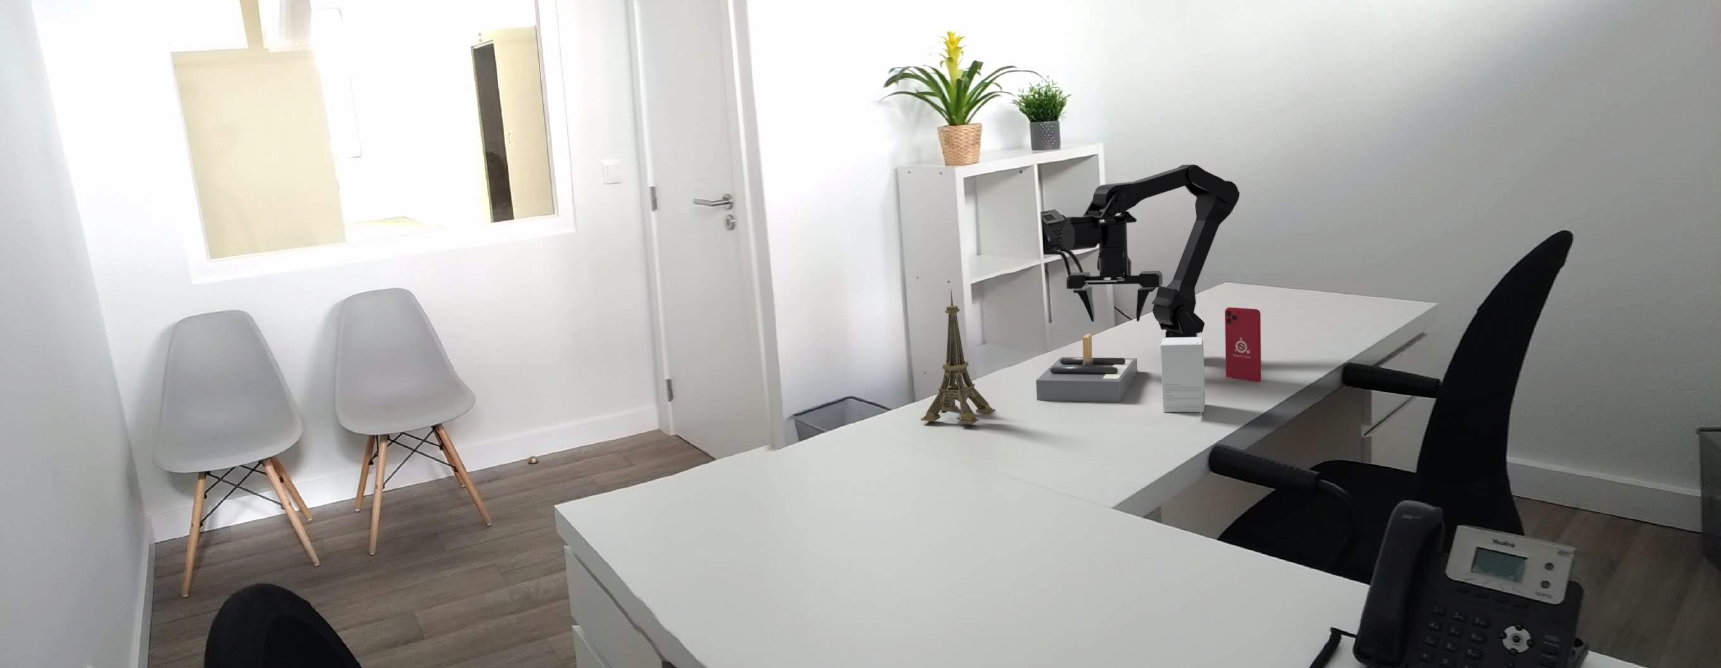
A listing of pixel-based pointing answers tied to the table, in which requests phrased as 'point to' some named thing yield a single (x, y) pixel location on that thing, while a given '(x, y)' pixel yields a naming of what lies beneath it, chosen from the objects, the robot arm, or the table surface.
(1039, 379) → the breaker panel
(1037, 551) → the table surface
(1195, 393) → the supplement box
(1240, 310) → the smartphone
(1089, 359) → the breaker lever
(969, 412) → the eiffel tower
